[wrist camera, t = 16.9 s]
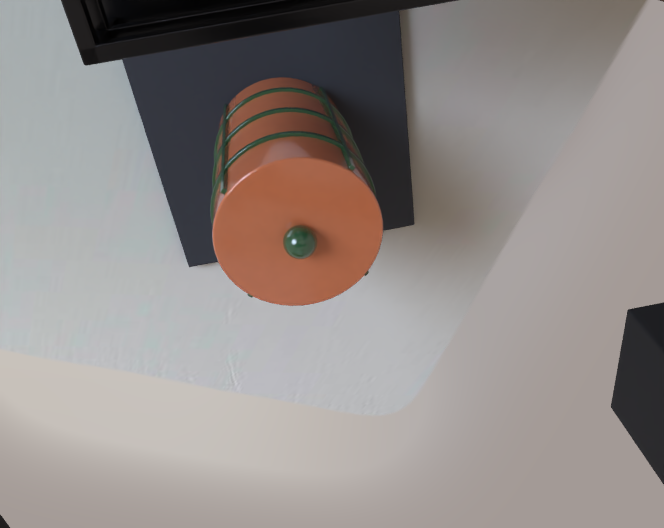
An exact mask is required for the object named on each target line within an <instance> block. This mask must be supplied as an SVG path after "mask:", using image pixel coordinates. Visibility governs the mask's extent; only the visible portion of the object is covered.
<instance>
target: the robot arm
mask: <svg viewBox="0 0 664 528" xmlns="http://www.w3.org/2000/svg"><path fill="white" fill-rule="evenodd" d="M611 408H612V409H613V411H614V412H615V414H616V415H617V416H618V418H619V419H620V421H621V422H622V424H623V425H624V427H625V428H626V430H627V431H628V433H629V434H630V436H631V437H632V439H633V440H634V442H635V443H636V445H637V446H638V447H639V449H640V450H641V452H642V453H643V455H644V456H645V458H646V459H647V461H648V462H649V464H650V465H651V467H652V468H653V470H654V471H655V472H656V474H657V475H658V477H659V478H660V480H661V481H662V483H663V484H664V303H660V304H654V305H649V306H644V307H639V308H634V309H629V310H628V312H627V317H626V323H625V329H624V335H623V340H622V346H621V352H620V358H619V363H618V369H617V375H616V381H615V386H614V392H613V398H612V403H611ZM0 528H10V527H9V526H8V524H7V523H6V522H5V520H4V519H3V518H2V516H1V515H0Z"/></svg>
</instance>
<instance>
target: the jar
mask: <svg viewBox="0 0 664 528" xmlns="http://www.w3.org/2000/svg"><path fill="white" fill-rule="evenodd" d="M212 186H213V191H212V195H211V205H210V212H211V221H212V226H213V228H212V238H213V246H214V251H215V254H216V257H217V260H218V262H219V264H220V266H221V267H222V269H223V271H224V272H225V273H226V275H227V276H228V277H229V278H230V279H231V280H232V281H233V282H234V283H235V284H236V285H237V286H238V287H239V288H241V289H242V290H243V291H245V292H246V293H248V296H250V297H256V298H258V299H260V300H263V301H266V302H270V303H274V304H279V305H289V306H297V305H308V304H314V303H318V302H322V301H325V300H328V299H331V298H333V297H335V296H337V295H339V294H341V293H343V292H344V291H346V290H348V289H349V288H351V287H352V286H353V285H354V284H356V283H357V282H358V281H359V280H360V279H361V278H362V277H363V276H364V275H365V276H366V275H367V274H368V273H369V271H368V270H369V268H370V267H371V265H372V264H373V262H374V260H375V259H376V256H377V254H378V252H379V249H380V245H381V242H382V236H383V219H382V213H381V210H380V207H379V204H378V201H377V199H376V193H375V187H374V184H373V181H372V179H371V176H370V174H369V172H368V170H367V168H366V167H365V165H364V164H363V159H362V156H361V153H360V151H359V149H358V147H357V145H356V143H355V141H354V140H353V136H352V133H351V130H350V128H349V126H348V124H347V122H346V120H345V118H344V117H343V116H342V114H341V113H340V112H339V110H338V108H337V106H336V105H335V103H334V102H333V101H332V100H331V99H330V97H329V96H328V95H327V94H326V92H325V89H324V88H323V87H320V88H317V87H316V86H314V85H312V84H310V83H308V82H305V81H302V80H299V79H294V78H285V77H278V78H270V79H266V80H262V81H259V82H257V83H254V84H252V85H250V86H248V87H247V88H245V89H244V90H242V91H241V92H240V93H238V94H237V95H236V96H235V97H234V98H233V99H232V101H231V102H230V103H229V105H228V104H225V105H224V107H223V115H222V118H221V120H220V124H219V128H218V133H217V136H216V140H215V145H214V166H213V174H212Z"/></svg>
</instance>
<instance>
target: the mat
mask: <svg viewBox="0 0 664 528" xmlns="http://www.w3.org/2000/svg"><path fill="white" fill-rule="evenodd" d="M122 60H123V63H124V66H125V69H126V73H127V76H128V79H129V82H130V85H131V88H132V91H133V94H134V97H135V101H136V104H137V107H138V110H139V113H140V116H141V119H142V122H143V125H144V128H145V132H146V135H147V138H148V141H149V144H150V147H151V150H152V153H153V156H154V159H155V163H156V166H157V169H158V172H159V175H160V178H161V181H162V184H163V187H164V191H165V194H166V197H167V200H168V203H169V206H170V209H171V212H172V215H173V218H174V222H175V225H176V228H177V231H178V234H179V237H180V240H181V243H182V246H183V250H184V253H185V256H186V259H187V262H188V265H189V267H192V266H197V265H203V264H208V263H213V262H218V260H217V257H216V254H215V251H214V246H213V238H212V228H213V226H212V221H211V212H210V205H211V195H212V191H213V186H212V174H213V166H214V145H215V140H216V136H217V133H218V128H219V124H220V120H221V118H222V115H223V107H224V105H225V104H228V105H229V103H230V102H231V101H232V99H233V98H234V97H235V96H236V95H237V94H238V93H240V92H241V91H242V90H244V89H245V88H247V87H248V86H250V85H252V84H254V83H257V82H259V81H262V80H266V79H270V78H278V77H285V78H294V79H299V80H302V81H305V82H308V83H310V84H312V85H314V86H316V87H317V88H320V87H323V88H324V89H325V92H326V94H327V95H328V96H329V97H330V99H331V100H332V101H333V102H334V103H335V105H336V106H337V108H338V110H339V112H340V113H341V114H342V116H343V117H344V118H345V120H346V122H347V124H348V126H349V128H350V130H351V133H352V136H353V140H354V141H355V143H356V145H357V147H358V149H359V151H360V153H361V156H362V159H363V164H364V165H365V167H366V168H367V170H368V172H369V174H370V176H371V179H372V181H373V184H374V187H375V193H376V199H377V201H378V204H379V207H380V210H381V213H382V219H383V230H389V229H394V228H399V227H405V226H410V225H414V212H413V198H412V184H411V170H410V156H409V142H408V128H407V114H406V100H405V86H404V72H403V58H402V44H401V30H400V17H399V11H394V12H389V13H383V14H377V15H372V16H366V17H360V18H354V19H349V20H343V21H337V22H332V23H326V24H320V25H315V26H309V27H303V28H297V29H292V30H286V31H280V32H275V33H269V34H263V35H258V36H252V37H246V38H240V39H235V40H229V41H223V42H218V43H212V44H206V45H200V46H195V47H189V48H183V49H178V50H172V51H166V52H161V53H155V54H149V55H143V56H138V57H132V58H126V59H122Z"/></svg>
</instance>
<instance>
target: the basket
mask: <svg viewBox="0 0 664 528" xmlns="http://www.w3.org/2000/svg"><path fill="white" fill-rule="evenodd" d="M451 1H457V0H61V2H62V4H63V7H64V10H65V13H66V16H67V18H68V21H69V24H70V27H71V30H72V32H73V35H74V38H75V41H76V44H77V46H78V49H79V52H80V55H81V58H82V60H83V63H84V65H92V64H98V63H104V62H109V61H115V60H121V59H126V58H132V57H138V56H143V55H149V54H155V53H161V52H166V51H172V50H178V49H183V48H189V47H195V46H200V45H206V44H212V43H218V42H223V41H229V40H235V39H240V38H246V37H252V36H258V35H263V34H269V33H275V32H280V31H286V30H292V29H297V28H303V27H309V26H315V25H320V24H326V23H332V22H337V21H343V20H349V19H354V18H360V17H366V16H372V15H377V14H383V13H389V12H394V11H400V10H406V9H412V8H417V7H423V6H429V5H434V4H440V3H446V2H451Z"/></svg>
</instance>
